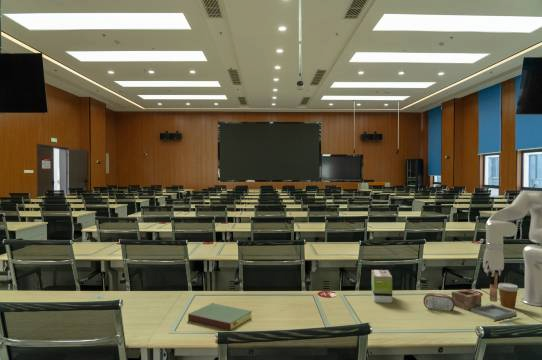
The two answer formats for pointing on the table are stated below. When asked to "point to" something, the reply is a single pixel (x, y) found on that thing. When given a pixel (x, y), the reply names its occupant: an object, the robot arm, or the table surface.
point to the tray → (494, 312)
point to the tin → (439, 302)
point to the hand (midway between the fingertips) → (493, 283)
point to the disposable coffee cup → (508, 294)
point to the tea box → (382, 286)
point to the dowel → (494, 289)
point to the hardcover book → (220, 316)
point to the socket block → (466, 299)
